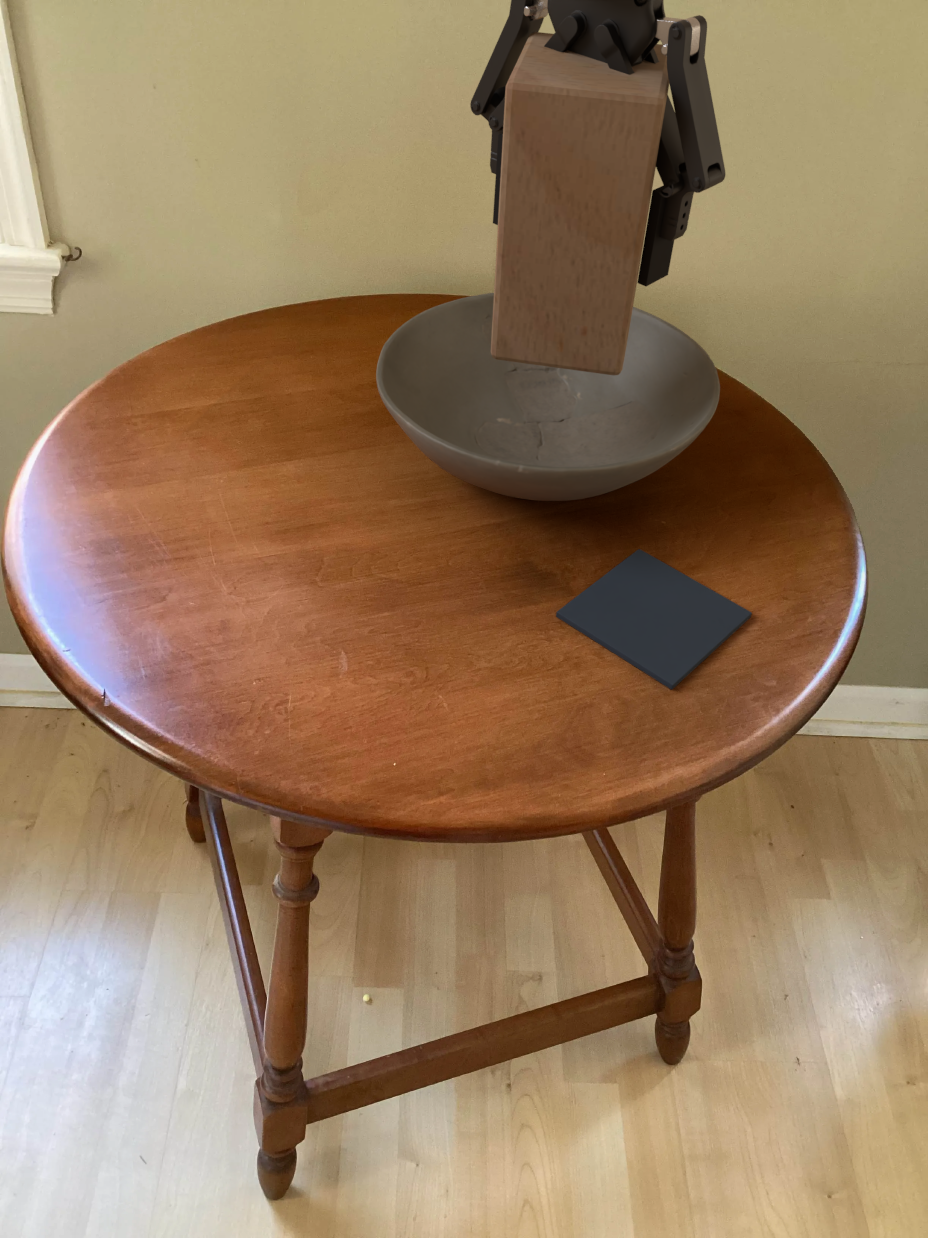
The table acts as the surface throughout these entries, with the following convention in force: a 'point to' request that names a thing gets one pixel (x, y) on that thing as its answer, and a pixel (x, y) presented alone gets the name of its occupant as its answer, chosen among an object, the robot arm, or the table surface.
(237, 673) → the table surface
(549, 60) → the wooden block
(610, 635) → the mat
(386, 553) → the table surface
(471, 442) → the bowl
